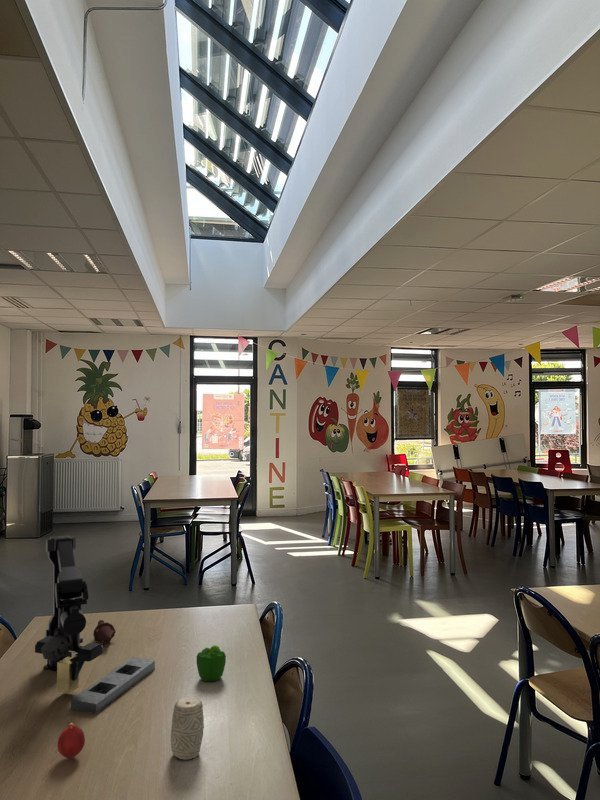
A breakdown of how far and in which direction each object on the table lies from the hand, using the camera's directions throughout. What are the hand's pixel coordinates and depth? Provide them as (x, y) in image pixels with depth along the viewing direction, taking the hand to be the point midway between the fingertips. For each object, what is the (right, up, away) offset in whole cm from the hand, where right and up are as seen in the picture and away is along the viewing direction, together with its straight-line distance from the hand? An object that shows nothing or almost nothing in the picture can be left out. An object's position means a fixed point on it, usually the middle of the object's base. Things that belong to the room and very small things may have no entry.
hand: (67, 679), depth 158 cm
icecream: (-3, -6, +37) cm, 37 cm away
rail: (+12, -5, +4) cm, 13 cm away
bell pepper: (+38, -5, +11) cm, 40 cm away
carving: (+39, -4, -27) cm, 47 cm away
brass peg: (0, -3, 0) cm, 3 cm away
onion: (+13, -4, -29) cm, 32 cm away
